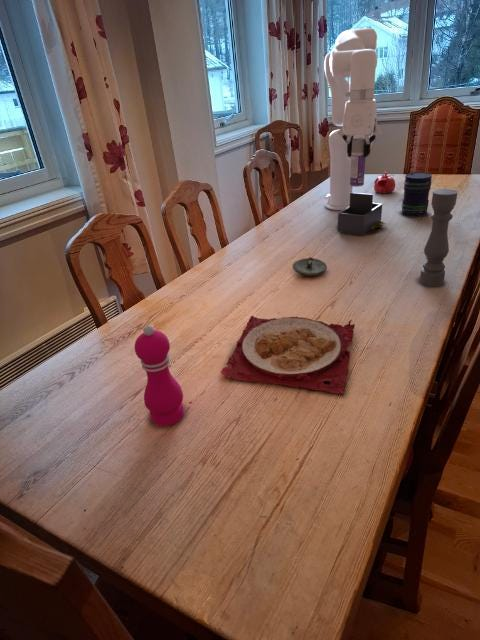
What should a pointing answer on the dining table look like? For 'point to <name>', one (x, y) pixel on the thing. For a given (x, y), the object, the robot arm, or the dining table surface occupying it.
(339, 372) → the plate with food
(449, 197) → the candle holder
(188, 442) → the dining table surface
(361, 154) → the container
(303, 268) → the lid
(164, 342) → the pepper mill
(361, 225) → the bin
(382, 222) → the lily flower
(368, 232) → the turntable
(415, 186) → the storage jar
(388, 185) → the pomegranate
